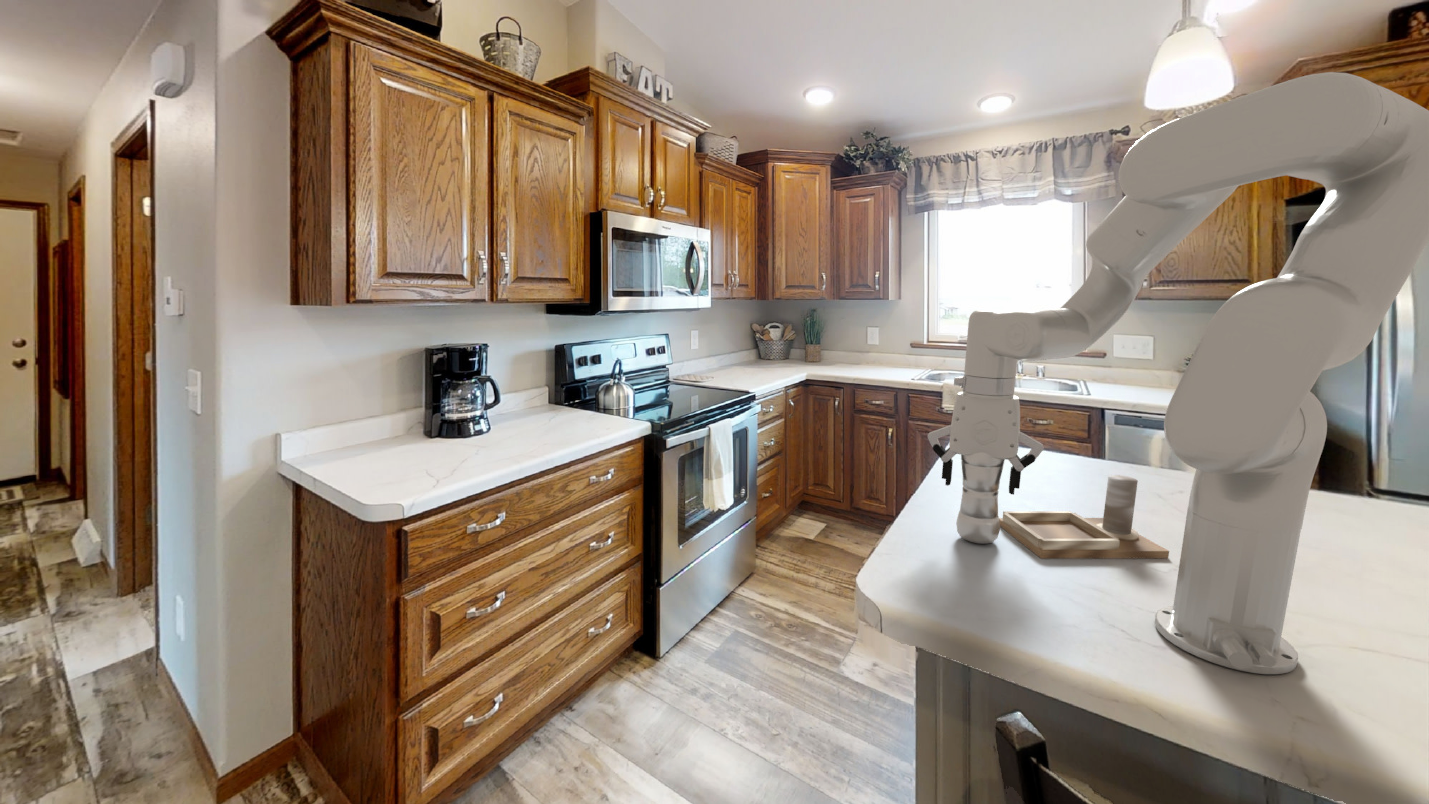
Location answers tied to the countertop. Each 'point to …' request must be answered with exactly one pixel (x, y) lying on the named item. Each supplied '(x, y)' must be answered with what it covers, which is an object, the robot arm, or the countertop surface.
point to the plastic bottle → (980, 498)
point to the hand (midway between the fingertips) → (979, 487)
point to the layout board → (1085, 529)
